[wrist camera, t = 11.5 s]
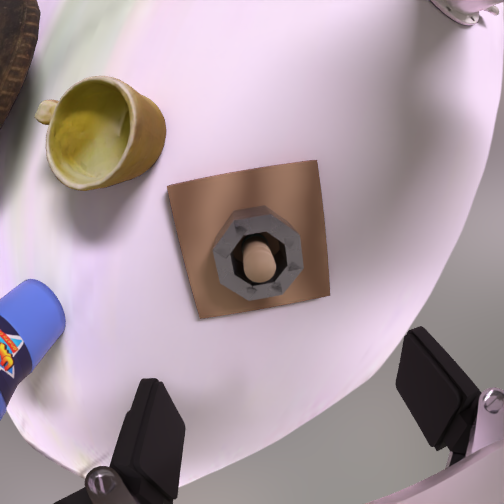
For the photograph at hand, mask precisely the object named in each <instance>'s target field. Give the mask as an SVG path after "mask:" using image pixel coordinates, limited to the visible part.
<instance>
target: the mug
mask: <svg viewBox="0 0 504 504" xmlns="http://www.w3.org/2000/svg"><path fill="white" fill-rule="evenodd" d="M35 118H36V120H37V121H38V122H40V123H42V124H45V125H49V127H48V130H47V134H46V156H47V160H48V163H49V166H50V168H51V170H52V172H53V173H54V174H55V176H56V177H57V179H58V180H59V181H60V182H61V183H62V184H64V185H65V186H67V187H69V188H71V189H74V190H81V191H87V190H92V189H98V188H105V187H109V186H111V185H115V184H118V183H121V182H124V181H127V180H131V179H133V178H135V177H138V176H140V175H141V174H143V173H144V172H146V171H147V170H148V169H149V168H151V167H152V165H153V164H154V163H155V162H156V161H157V159H158V157H159V156H160V154H161V152H162V149H163V147H164V143H165V138H166V124H165V120H164V117H163V115H162V113H161V111H160V110H159V108H158V107H157V105H156V104H155V103H154V102H152V101H151V100H150V99H149V98H147V97H145V96H143V95H141V94H139V93H138V92H137V91H135V90H134V89H133V88H132V87H130V86H129V85H128V84H126V83H124V82H122V81H121V80H119V79H116V78H113V77H107V76H93V77H89V78H86V79H83V80H81V81H79V82H78V83H76V84H74V85H73V86H72V87H70V88H69V89H68V90H67V91H66V92H65V93H64V95H63V96H62V97H61V99H60V101H57V100H45V101H43V102H41V103H40V105H39V107H38V110H37V112H36V114H35Z"/></svg>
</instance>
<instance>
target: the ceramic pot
mask: <svg viewBox="0 0 504 504" xmlns="http://www.w3.org/2000/svg"><path fill="white" fill-rule="evenodd" d="M39 20H40V10H39V6H38V3H37V0H0V129H1V127H2V125H3V123H4V121H5V119H6V118H7V116H8V114H9V112H10V110H11V108H12V106H13V104H14V102H15V100H16V98H17V96H18V94H19V92H20V90H21V87H22V85H23V83H24V81H25V78H26V75H27V72H28V69H29V66H30V64H31V61H32V58H33V55H34V51H35V47H36V44H37V40H38V31H39Z"/></svg>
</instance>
